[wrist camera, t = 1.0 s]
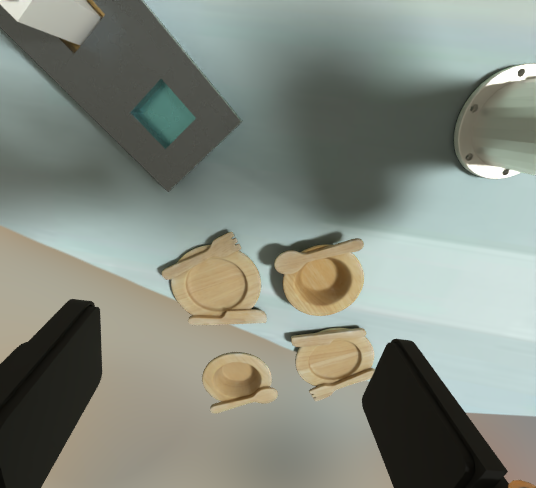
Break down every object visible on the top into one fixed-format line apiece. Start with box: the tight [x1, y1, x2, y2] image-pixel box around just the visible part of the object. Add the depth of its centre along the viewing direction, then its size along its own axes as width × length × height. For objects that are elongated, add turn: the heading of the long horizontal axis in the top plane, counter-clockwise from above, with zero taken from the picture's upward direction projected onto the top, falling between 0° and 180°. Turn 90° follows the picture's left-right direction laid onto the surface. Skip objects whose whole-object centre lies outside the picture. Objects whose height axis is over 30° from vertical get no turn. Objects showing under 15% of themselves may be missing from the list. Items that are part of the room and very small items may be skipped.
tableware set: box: [162, 232, 375, 413], centre depth 45 cm, size 35×29×4 cm
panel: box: [0, 0, 243, 192], centre depth 31 cm, size 12×24×2 cm, turn 40°
